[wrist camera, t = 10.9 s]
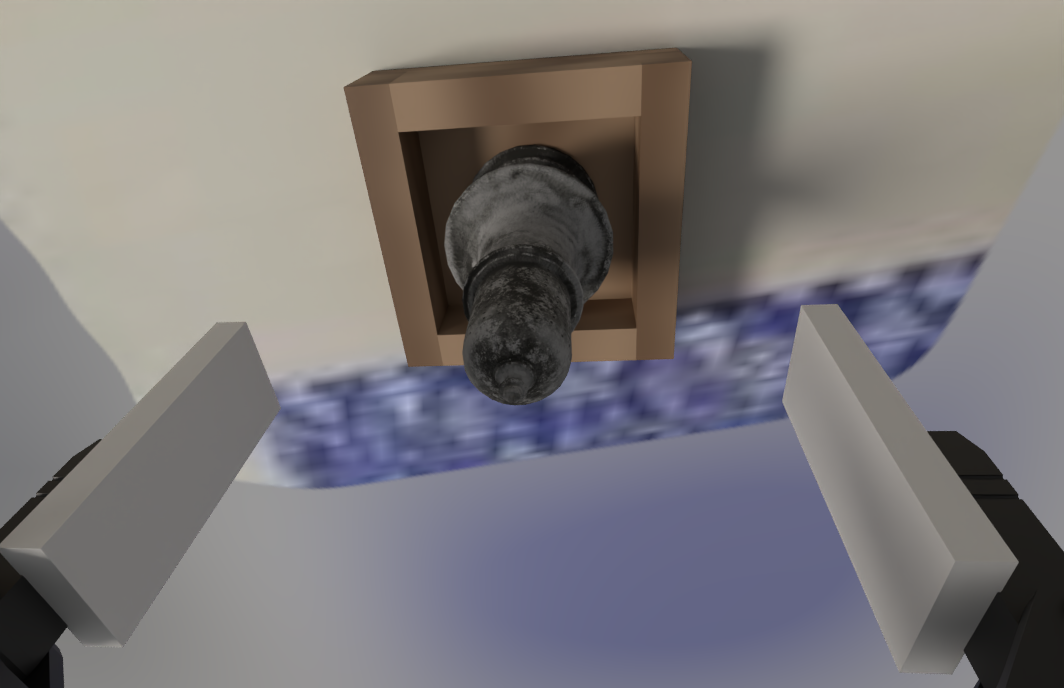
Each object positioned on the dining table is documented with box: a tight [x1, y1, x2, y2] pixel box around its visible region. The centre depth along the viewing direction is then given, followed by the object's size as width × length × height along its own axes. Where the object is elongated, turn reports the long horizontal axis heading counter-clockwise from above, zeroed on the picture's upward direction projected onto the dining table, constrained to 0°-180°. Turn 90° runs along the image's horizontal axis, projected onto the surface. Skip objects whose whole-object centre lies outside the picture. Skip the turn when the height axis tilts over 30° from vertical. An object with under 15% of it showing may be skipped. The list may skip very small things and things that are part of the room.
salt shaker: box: [444, 145, 613, 405], centre depth 19 cm, size 6×6×12 cm
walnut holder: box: [344, 48, 692, 367], centre depth 23 cm, size 11×11×3 cm
